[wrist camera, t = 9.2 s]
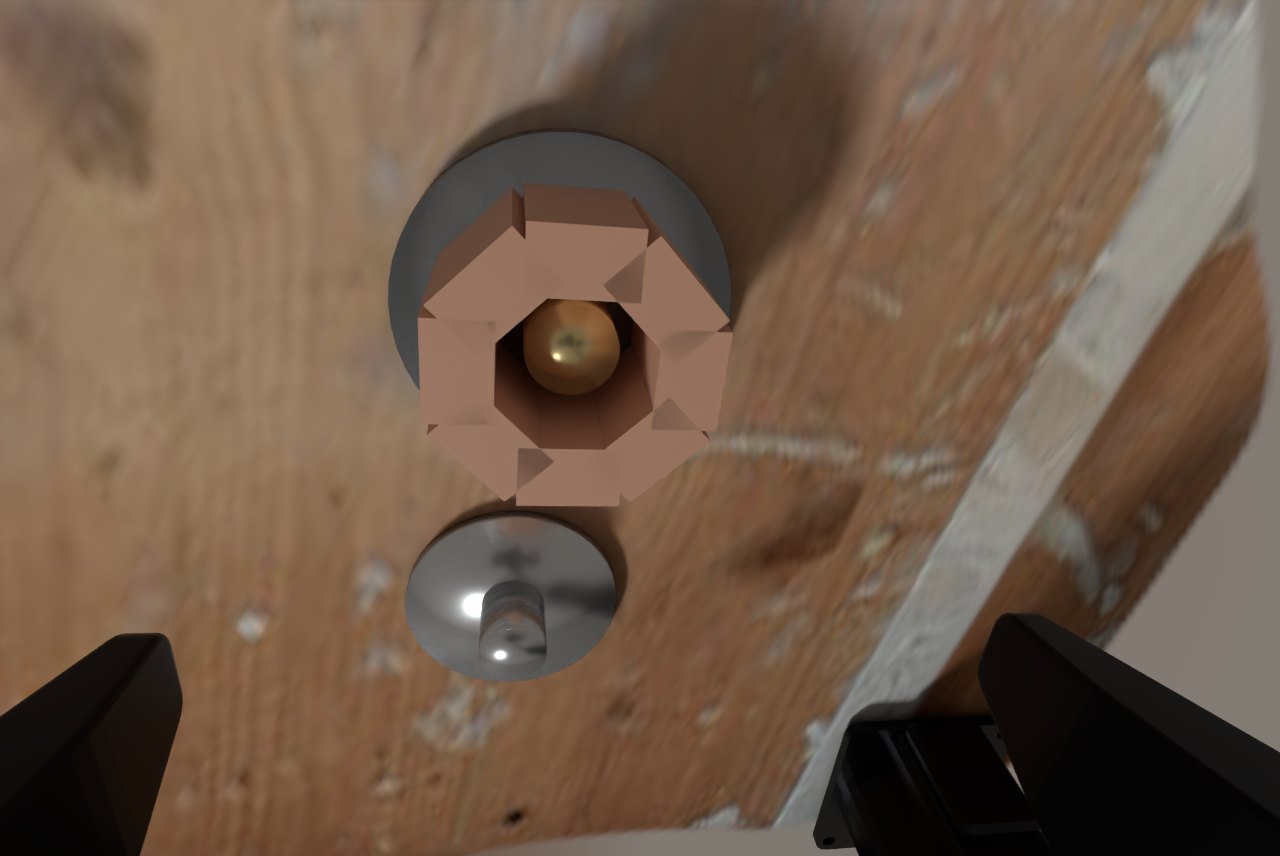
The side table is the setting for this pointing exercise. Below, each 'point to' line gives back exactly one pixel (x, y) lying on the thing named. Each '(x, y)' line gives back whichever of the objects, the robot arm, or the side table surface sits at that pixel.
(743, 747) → the side table surface
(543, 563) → the metal knobbed lid
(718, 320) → the octagonal hollow tube
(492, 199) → the hub
